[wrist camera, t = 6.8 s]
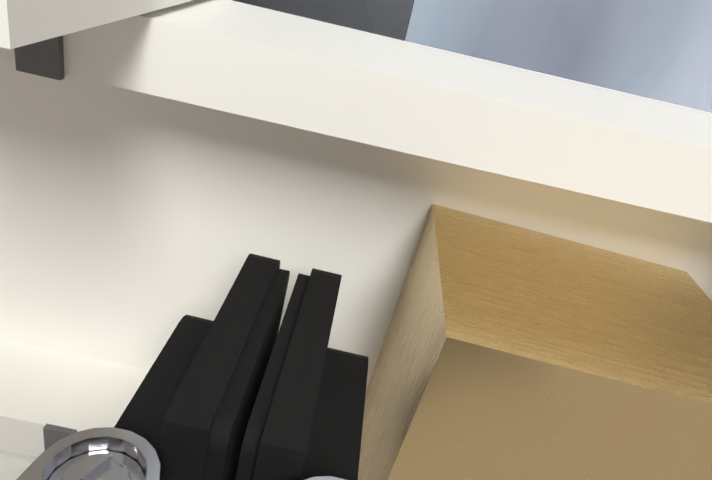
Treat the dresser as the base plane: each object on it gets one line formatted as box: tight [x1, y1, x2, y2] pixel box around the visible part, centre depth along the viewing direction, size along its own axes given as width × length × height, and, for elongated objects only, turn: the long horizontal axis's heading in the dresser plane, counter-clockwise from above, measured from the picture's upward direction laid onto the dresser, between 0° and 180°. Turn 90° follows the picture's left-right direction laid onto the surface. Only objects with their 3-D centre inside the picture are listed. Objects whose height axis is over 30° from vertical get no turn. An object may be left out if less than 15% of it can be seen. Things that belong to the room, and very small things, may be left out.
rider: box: [358, 204, 712, 480], centre depth 10 cm, size 5×5×4 cm
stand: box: [233, 0, 414, 41], centre depth 12 cm, size 16×10×13 cm, turn 168°
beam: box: [0, 0, 712, 480], centre depth 11 cm, size 13×26×9 cm, turn 78°
